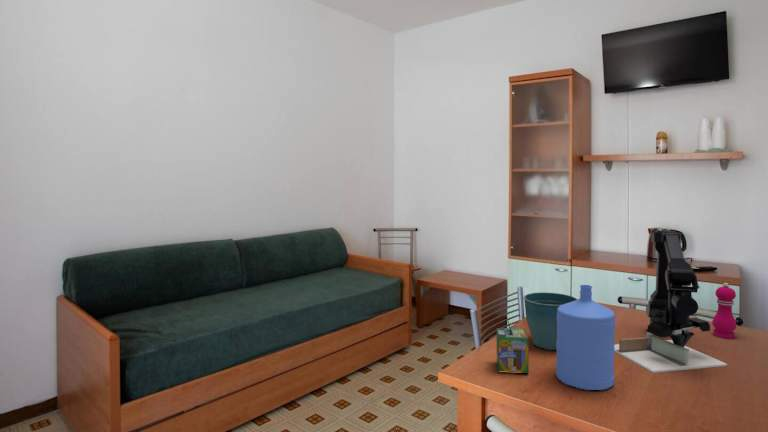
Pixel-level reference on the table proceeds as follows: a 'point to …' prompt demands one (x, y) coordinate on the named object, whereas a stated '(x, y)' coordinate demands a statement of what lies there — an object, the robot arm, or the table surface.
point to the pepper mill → (724, 313)
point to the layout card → (661, 356)
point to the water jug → (585, 343)
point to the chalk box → (512, 350)
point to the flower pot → (544, 317)
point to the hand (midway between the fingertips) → (678, 352)
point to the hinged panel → (670, 349)
